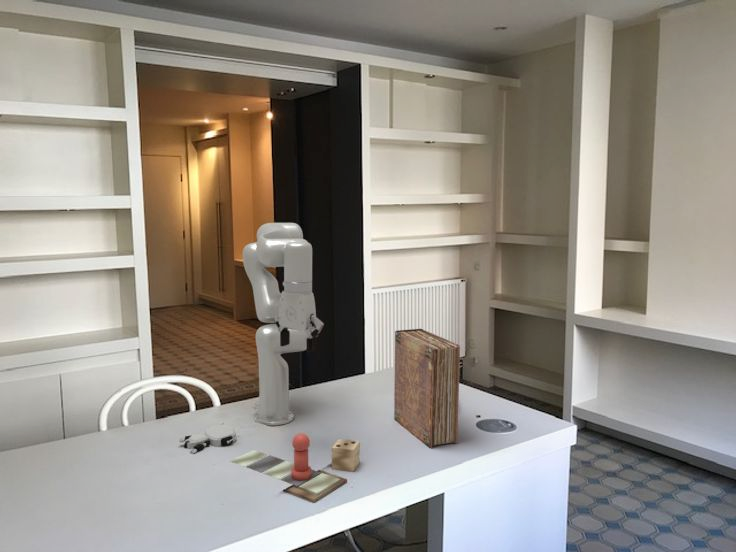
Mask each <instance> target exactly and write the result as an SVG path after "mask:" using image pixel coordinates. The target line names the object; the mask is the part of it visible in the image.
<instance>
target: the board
mask: <svg viewBox="0 0 736 552" xmlns="http://www.w3.org/2000/svg"><path fill="white" fill-rule="evenodd" d="M229 462H231V463H234V464H237V465H239V466H242V467H246V468H247V469H251V470H252V471H256V472H258V473H261V474H264V475H266V476H269V477H271V478H274V479H277V480H280V481H283V482H286V483H288V484H290V486H288V487H286V488H284V489H282V490H281V491H282V492H284V493H287V494H289V495H292V496H295V497H297V498H299V499H303V500H305V501H308V502H310V503H312V504H313V503H316V502H318V501H319V500H321V499H322V498H324V497H326V496H327V495H329V494H331V493H333V491H335V490H336V489H338V488H340V487H341V486H343V485H344V484H346V483H348V479H347V478H344V477H342V476H338V475H336V474H333V473H330V472H326V471H324V470H321V469H317V470H315V469H312V468H311V478H310V479H308V480H305V481H296V480H294V479H292V477H291V469H292V467H294V462H291V461H287V460H285V459H282V458H280V457H276V456H273V455H270V454H267V453H264V452H262V451H259V450H255V449H252V450H250V451H248V452H246V453H244V454H242V455H241V454H240V455H239V456H236V457H235V458H233V459H231V460H229Z"/></svg>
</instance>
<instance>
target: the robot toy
mask: <svg viewBox="0 0 736 552" xmlns="http://www.w3.org/2000/svg"><path fill="white" fill-rule="evenodd" d="M240 436H241V435H240V434H238V435H237V432H236V430H235V428H233V427H232V426H230V425H227V424H225V422H221V423H220V424H216V425H213V426H210V427H208V428H206V429H205V431H204V433H203V432H201V433H197V434H192V435H185V436H184V437H181V438H179V441H178V442H179V443H184V444H183V449H190V450H189V453H191V454H196V453H199V452H202V451H203V450H204V448H205V447H209V446H213V447H224V446H228V445H231V444H234V443H235V442H236V440H237V438H239V437H240Z"/></svg>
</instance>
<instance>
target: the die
mask: <svg viewBox="0 0 736 552" xmlns="http://www.w3.org/2000/svg"><path fill="white" fill-rule="evenodd" d="M360 443H361V442H360V441H359V440H351V439H342V438H341V439H340V438H338V439H337V441H335V443H334V444H333V445H332V446H331V469H332V470H336V471H344V472H351V473H352V472H355V470H356V468H357V467H358V465H359V464H360V460H361V459H360V455H361V454H360V449H361V448H360V445H361V444H360Z"/></svg>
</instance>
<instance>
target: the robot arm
mask: <svg viewBox="0 0 736 552" xmlns="http://www.w3.org/2000/svg"><path fill="white" fill-rule="evenodd" d="M256 240H257V241H255V242H251V243H248V244H246V245H245V246H244V247H243V250H242V262H243V267H244V270H245V273H246V275H247V277H248V279H249V282H250V284H251V286H252V291H253V292H252V293H253V299H254V305H255V313H256V317H257V319H258V320H259V321H260V322H261V323H265V325H261V326H260V327H259V328H258V329H257V330H256V332H255V344H256V351H257V359H258V383H259V384H258V389H259V391H258V396H259V400H256V401H255V403H254V404H253V405H252V409H253V410H257V413H256V414H255V415H254V422H256V423H258V424H261V425H263V426H264V425H265V426H283V425H285V424H288V423H291V422H292V421H293V420H294V413H293V412H292V411H290V403H289V402H290V400H289V399H290V398H289V397H290V396H289V395H290V394H289V390H290V389H289V388H290V387H289V386H290V385H289V384H290V382H289V381H290V380H289V376H290V374H289V365H288V362H287V361H286V359H284V358H283V357H282V356H281V355H282V354H287V353H295V352H296V353H298V352H304V351H306V353H308V354H309V353H313V352H315V351H316V350H317V337H319V335H320V334H321V333H322V329H323V327H324V325H325V323H324V322H323V321H322V320H321V319H319V318H318V317H317V313H316V312H317V311H316V301H315V296H314V293H313V247H312V244H311V243H310V242H309V241H308V240H306V239H304V234H303V230H302V228H301V226H300V225H299V224H297V223H295V222H267V223H264V224H262V225H261V226H260V227H259V228H258V229H257V232H256ZM271 267H272V268H274V267H277V268H279V267H283V269H284V270H283V271H284V272H283V276H284V278H283V279H284V280H283V281H282V286H283V288H284V289H283V290H282V291H281V292H280V288H279V282H278V280H277V279H276V277H275V276H274V275H273V274H272V273H271V272H270V271H268V270H267V269H266V268H271ZM266 323H268V324H266Z"/></svg>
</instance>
